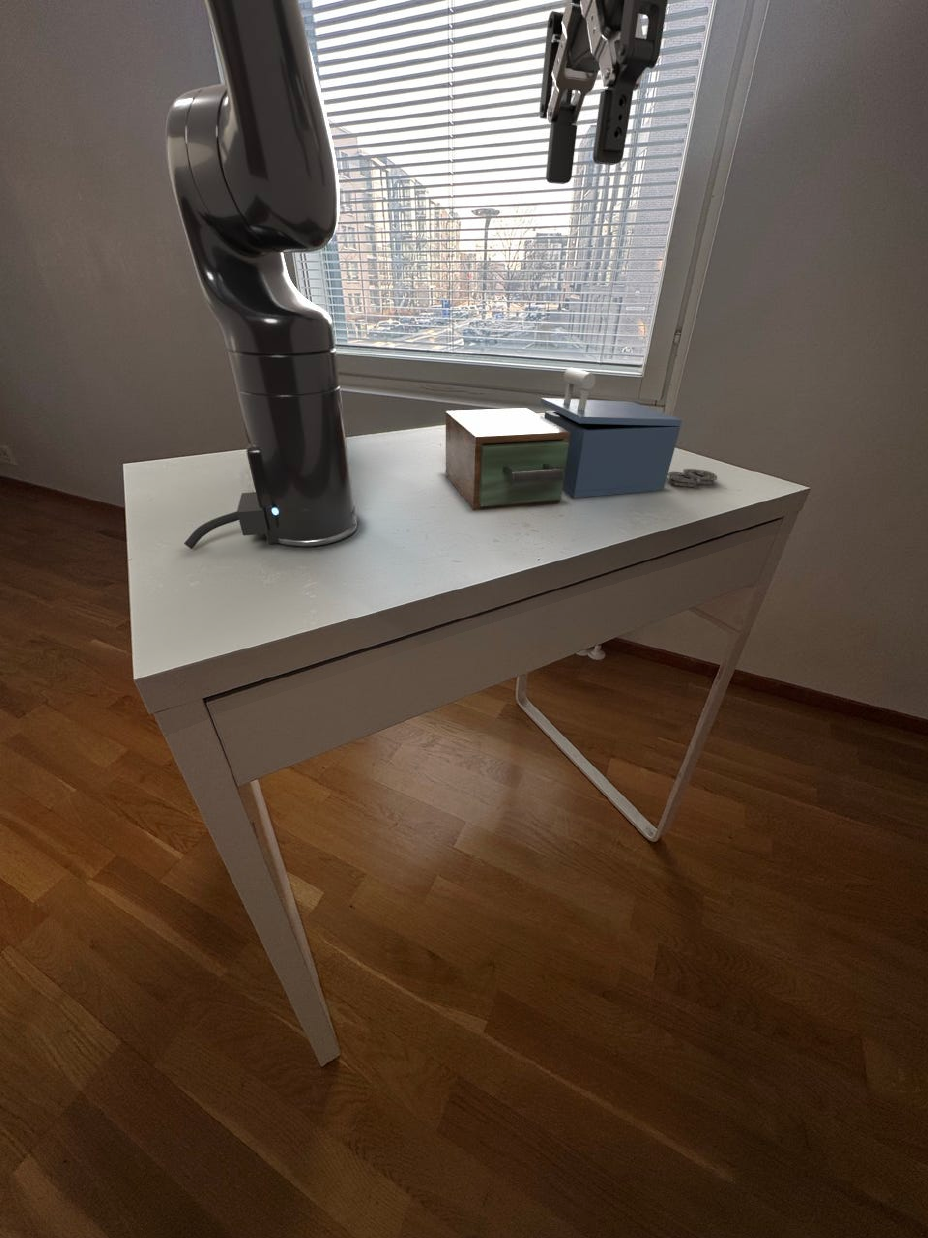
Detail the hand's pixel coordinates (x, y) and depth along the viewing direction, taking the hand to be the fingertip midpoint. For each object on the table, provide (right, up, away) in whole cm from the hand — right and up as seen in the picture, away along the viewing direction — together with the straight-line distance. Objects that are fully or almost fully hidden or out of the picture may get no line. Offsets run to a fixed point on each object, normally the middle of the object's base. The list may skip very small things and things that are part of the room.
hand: (580, 173), depth 39 cm
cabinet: (-5, -19, +25) cm, 32 cm away
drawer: (-4, -21, +21) cm, 30 cm away
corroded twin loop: (+23, -18, +28) cm, 40 cm away
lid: (+9, -10, +23) cm, 27 cm away
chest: (+10, -17, +28) cm, 34 cm away
